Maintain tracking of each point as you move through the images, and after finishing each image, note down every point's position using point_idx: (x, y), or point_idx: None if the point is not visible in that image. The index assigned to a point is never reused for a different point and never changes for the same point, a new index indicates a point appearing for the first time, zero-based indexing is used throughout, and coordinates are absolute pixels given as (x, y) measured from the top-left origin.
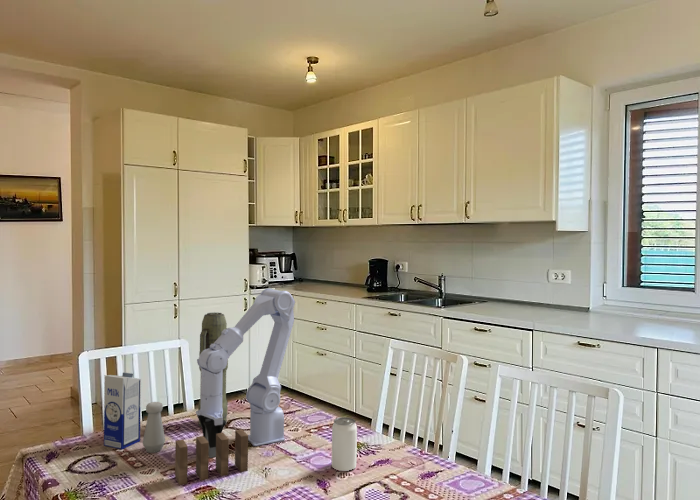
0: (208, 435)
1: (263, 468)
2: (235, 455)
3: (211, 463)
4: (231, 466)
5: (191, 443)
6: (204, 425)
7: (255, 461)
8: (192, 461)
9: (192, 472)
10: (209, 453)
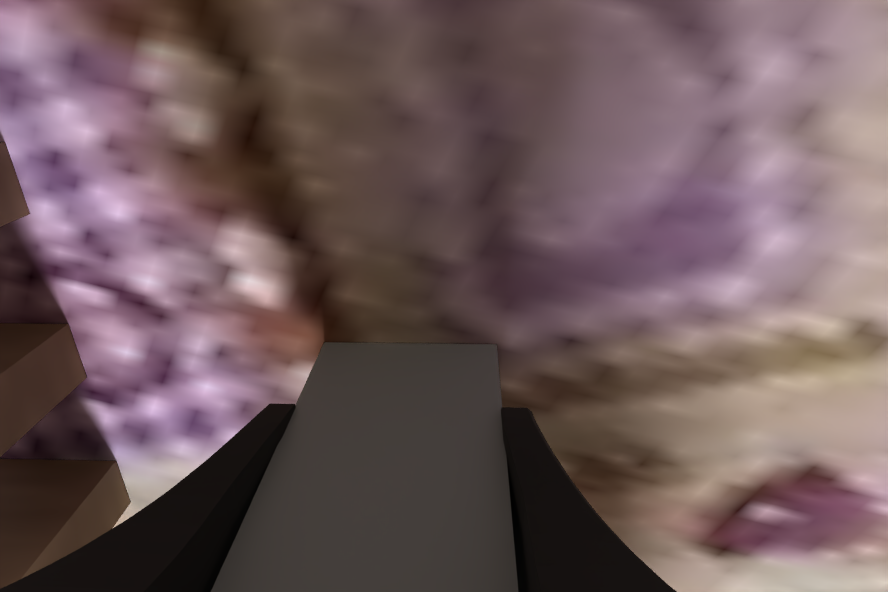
0: (161, 502)
1: None
2: (45, 527)
3: (196, 323)
4: (91, 434)
5: (792, 282)
6: (527, 567)
7: None
8: (305, 179)
9: (26, 114)
10: (330, 362)
